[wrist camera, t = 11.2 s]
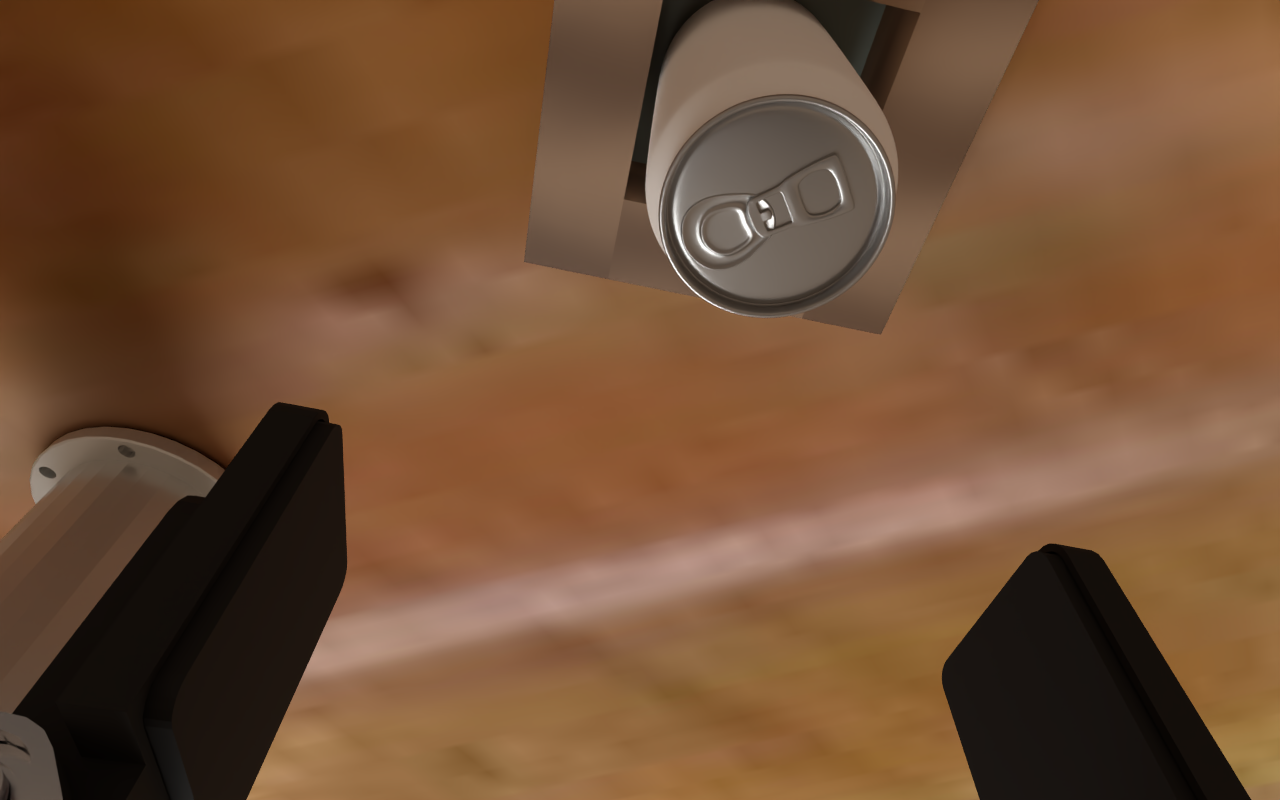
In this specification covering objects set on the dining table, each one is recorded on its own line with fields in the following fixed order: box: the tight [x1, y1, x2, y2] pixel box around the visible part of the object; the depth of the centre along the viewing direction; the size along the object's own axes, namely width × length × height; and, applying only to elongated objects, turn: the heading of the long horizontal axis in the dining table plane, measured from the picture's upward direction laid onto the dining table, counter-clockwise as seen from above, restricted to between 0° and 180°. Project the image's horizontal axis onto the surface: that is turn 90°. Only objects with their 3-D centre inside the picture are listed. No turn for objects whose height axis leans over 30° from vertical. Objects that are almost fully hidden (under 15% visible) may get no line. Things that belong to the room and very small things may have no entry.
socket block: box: [524, 0, 1039, 335], centre depth 26 cm, size 14×14×4 cm
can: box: [645, 0, 898, 318], centre depth 22 cm, size 6×6×12 cm
